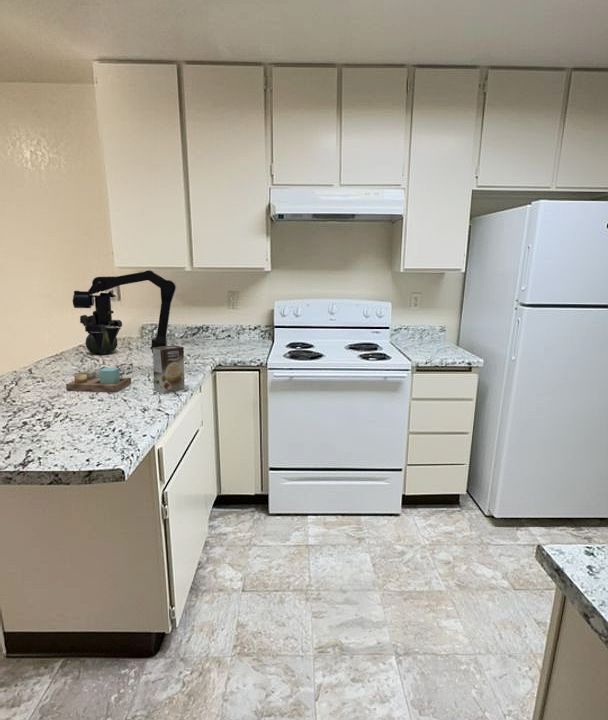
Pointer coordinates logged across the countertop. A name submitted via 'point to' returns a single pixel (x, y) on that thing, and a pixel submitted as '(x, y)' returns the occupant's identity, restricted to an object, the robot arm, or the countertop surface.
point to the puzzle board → (95, 383)
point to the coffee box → (168, 368)
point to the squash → (106, 347)
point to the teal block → (109, 376)
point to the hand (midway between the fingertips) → (106, 346)
